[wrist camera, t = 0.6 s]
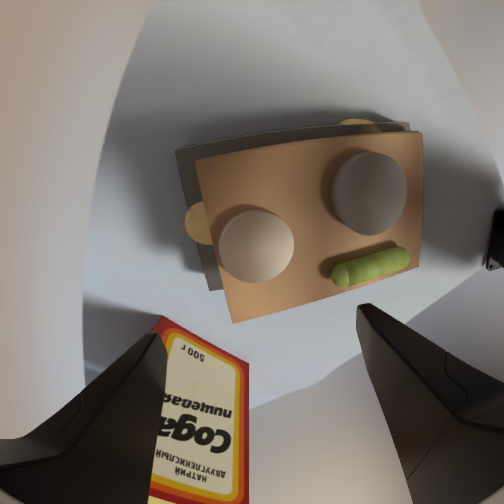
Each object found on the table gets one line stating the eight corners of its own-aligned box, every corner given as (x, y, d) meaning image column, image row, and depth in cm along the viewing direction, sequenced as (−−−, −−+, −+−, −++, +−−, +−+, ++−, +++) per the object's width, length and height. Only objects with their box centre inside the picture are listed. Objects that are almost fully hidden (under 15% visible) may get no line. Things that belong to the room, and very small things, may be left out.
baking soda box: (134, 353, 27) (86, 494, 13) (162, 315, 25) (107, 485, 11) (212, 393, 30) (199, 530, 15) (248, 363, 28) (248, 523, 13)
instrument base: (394, 117, 18) (408, 118, 16) (397, 250, 22) (408, 262, 20) (174, 144, 19) (166, 147, 17) (207, 279, 23) (203, 295, 21)
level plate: (410, 130, 16) (444, 135, 13) (409, 254, 20) (437, 273, 17) (193, 159, 14) (195, 166, 12) (228, 306, 18) (237, 339, 15)
